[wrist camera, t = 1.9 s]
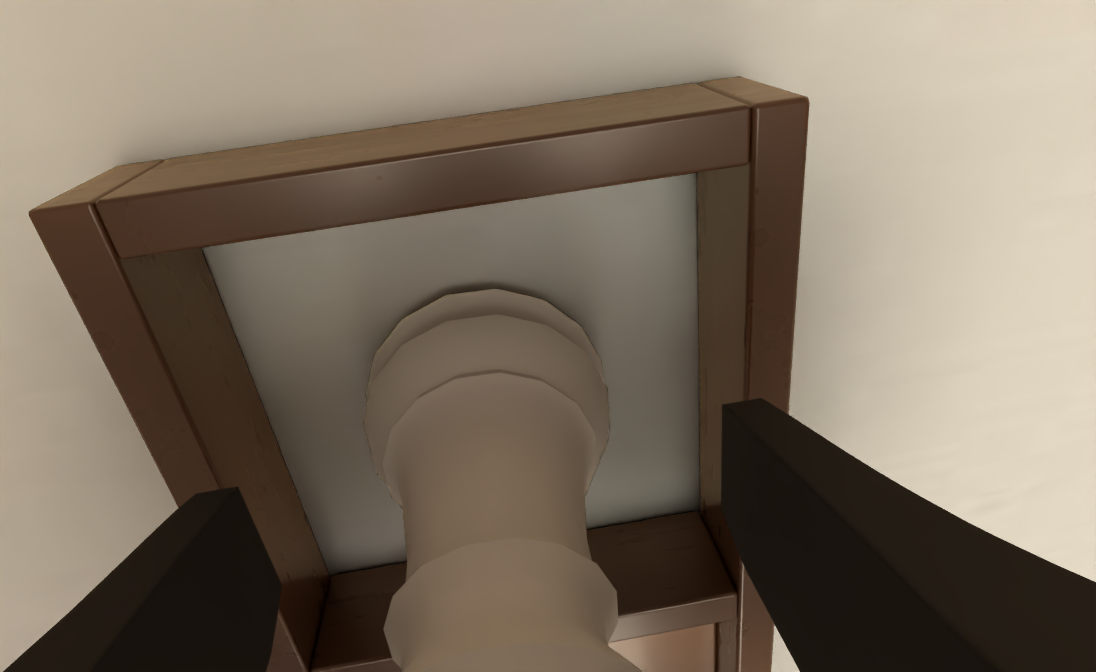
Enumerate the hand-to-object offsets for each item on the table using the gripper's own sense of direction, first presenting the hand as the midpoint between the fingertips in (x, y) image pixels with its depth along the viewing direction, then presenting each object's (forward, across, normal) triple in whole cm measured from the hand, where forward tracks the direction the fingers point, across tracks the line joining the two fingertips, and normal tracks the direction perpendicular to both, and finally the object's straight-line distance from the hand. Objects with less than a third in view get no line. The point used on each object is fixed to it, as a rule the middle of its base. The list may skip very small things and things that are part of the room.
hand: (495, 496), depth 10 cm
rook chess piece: (+3, 0, 0) cm, 3 cm away
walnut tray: (+3, 0, +5) cm, 6 cm away
